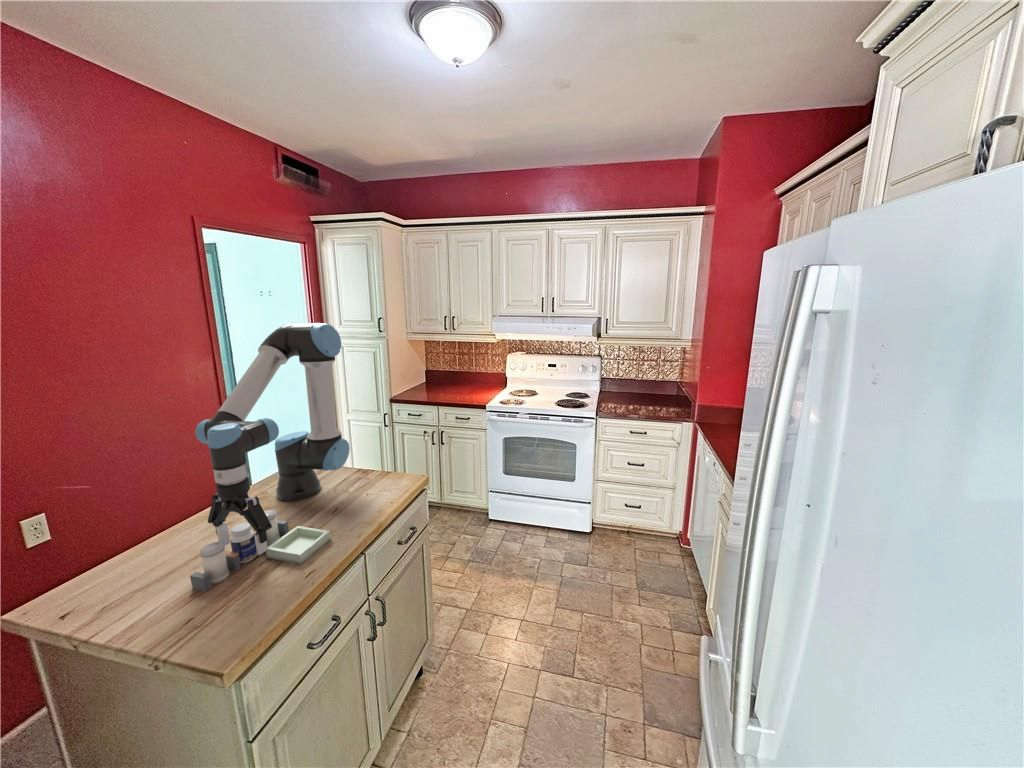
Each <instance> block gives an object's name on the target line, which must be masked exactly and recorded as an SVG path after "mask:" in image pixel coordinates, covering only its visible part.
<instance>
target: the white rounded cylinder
mask: <svg viewBox="0 0 1024 768" xmlns="http://www.w3.org/2000/svg"><path fill="white" fill-rule="evenodd" d="M225 551H226V546H224V543H223V542H219V541H216V542H211V543H209V544H206V545H205V546H203V547H202V548H201V549H200V550H199V555H200V557H201V562H202V566H203V567H202V568H203V571H204V572H203V573H204V574H209V578H210V583H211V585H216V584H218V583H221V582H223V581H225V580H227V579H228V577H229V576H230V574H231V573H230V569H228V565H227V559H226V554H225Z"/></svg>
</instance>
